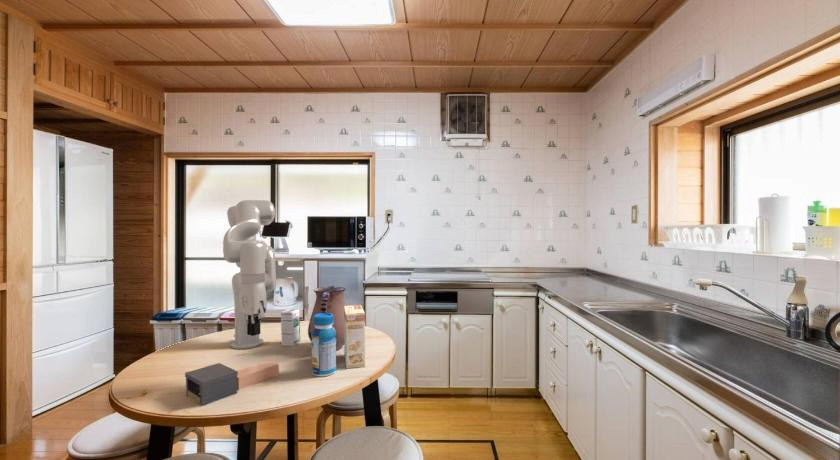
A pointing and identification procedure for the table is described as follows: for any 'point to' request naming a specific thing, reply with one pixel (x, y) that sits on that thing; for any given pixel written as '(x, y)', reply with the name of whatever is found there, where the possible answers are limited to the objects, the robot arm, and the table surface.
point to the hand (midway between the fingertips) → (253, 334)
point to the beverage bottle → (323, 345)
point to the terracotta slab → (256, 373)
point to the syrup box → (290, 327)
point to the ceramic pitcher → (330, 310)
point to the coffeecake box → (354, 336)
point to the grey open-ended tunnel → (211, 383)
